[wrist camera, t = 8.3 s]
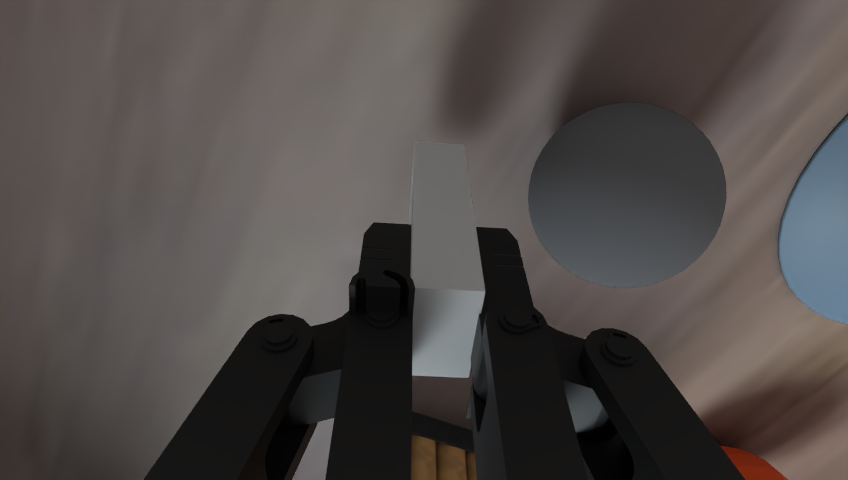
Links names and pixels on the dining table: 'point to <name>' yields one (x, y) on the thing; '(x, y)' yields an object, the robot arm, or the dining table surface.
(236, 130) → the dining table surface
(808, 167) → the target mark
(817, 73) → the dining table surface
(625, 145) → the dark grey sphere
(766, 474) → the clementine
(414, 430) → the ammunition clip
